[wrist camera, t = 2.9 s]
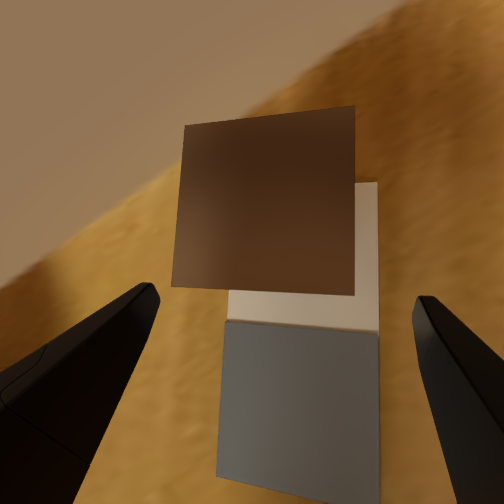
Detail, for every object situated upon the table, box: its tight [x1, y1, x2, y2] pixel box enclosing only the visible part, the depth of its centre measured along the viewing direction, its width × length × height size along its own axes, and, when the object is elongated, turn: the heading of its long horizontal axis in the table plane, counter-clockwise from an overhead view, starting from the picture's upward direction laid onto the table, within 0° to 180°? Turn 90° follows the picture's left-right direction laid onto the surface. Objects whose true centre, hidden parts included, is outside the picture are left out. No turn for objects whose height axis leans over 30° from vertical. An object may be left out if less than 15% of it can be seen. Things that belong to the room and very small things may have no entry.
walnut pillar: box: [171, 106, 355, 296], centre depth 13 cm, size 5×5×12 cm
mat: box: [216, 321, 380, 504], centre depth 18 cm, size 10×10×1 cm
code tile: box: [227, 182, 379, 336], centre depth 19 cm, size 10×10×1 cm
